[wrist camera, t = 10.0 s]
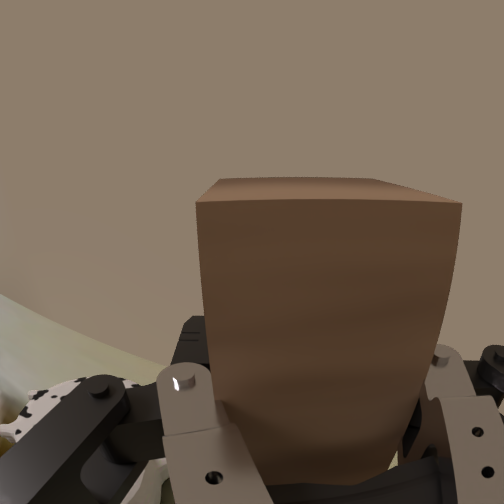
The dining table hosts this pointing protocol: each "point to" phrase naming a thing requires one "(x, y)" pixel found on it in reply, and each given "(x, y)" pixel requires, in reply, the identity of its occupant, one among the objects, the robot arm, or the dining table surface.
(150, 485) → the toy
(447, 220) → the block
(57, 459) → the robot arm
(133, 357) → the dining table surface
